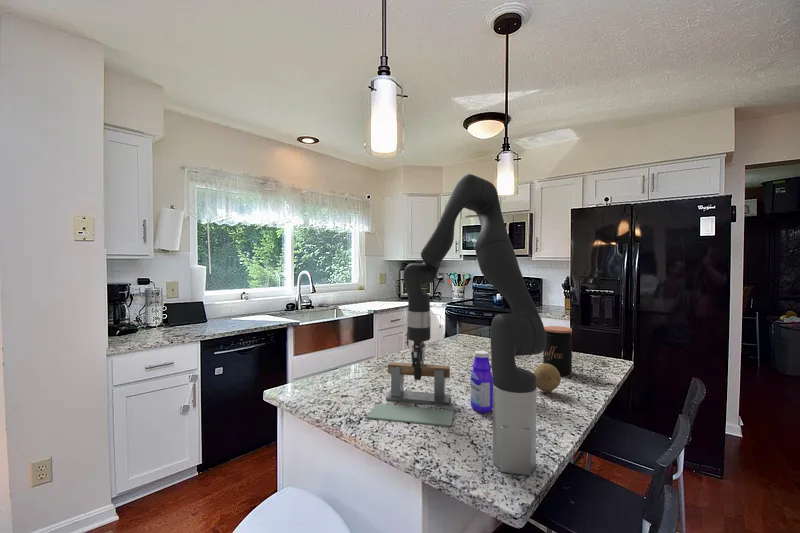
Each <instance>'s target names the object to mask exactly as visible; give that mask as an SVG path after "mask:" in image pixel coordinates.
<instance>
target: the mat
mask: <svg viewBox="0 0 800 533" xmlns="http://www.w3.org/2000/svg"><path fill="white" fill-rule="evenodd" d="M454 413H455V410H450V409H439V408H430V407H429V408H427V407H417V406H406V405H405V406H404V405H398V404H397V405H396V404H395V405H394V404H383V403H375V405H374V406H373V407H372V409H371V410H370V411H369V413H368V414H367V415H366V419H370V420H380V421H381V420H382V421H391V422H399V423H400V422H401V423H410V424H411V423H412V424H419V425H420V424H421V425H429V426H431V425H432V426H439V425H440V426H441V427H449V426H451V427H452V425H453V420H452V419H454V415H455V414H454Z"/></svg>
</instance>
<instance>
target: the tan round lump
mask: <svg viewBox="0 0 800 533" xmlns="http://www.w3.org/2000/svg"><path fill="white" fill-rule="evenodd" d="M532 373H533V374H535V376H536V379H537V388H538V389H539V390H540V391H541V392H544V393H546V394H547V393H549V394H550V393H551V392H552V391H554V390H555V389H557V388H558V387H559V385H560V383H561V376H560V374H559V371H558V370H557V369H556V368H555V367H554V366H553V365H551V364H546V363H544V364H543V363H541V364H539V365H538V366H537V367H536V368H535V370H534V371H533V372H532Z"/></svg>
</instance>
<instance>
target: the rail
mask: <svg viewBox="0 0 800 533" xmlns="http://www.w3.org/2000/svg"><path fill="white" fill-rule="evenodd" d="M391 367H401V375H404V376H414V368H413V367H412V362H409V363H408V362H395V361H389V363H387V374H388V375H391ZM435 370H444V378H446V379H449V378H450V376H451V366H450V365H442V364H441V365H440V364H427V363H426V364H425V363H424V364H422V367H421V376H422V377H428V378H429V377H430V378H431V377H432V378H434V371H435Z"/></svg>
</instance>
